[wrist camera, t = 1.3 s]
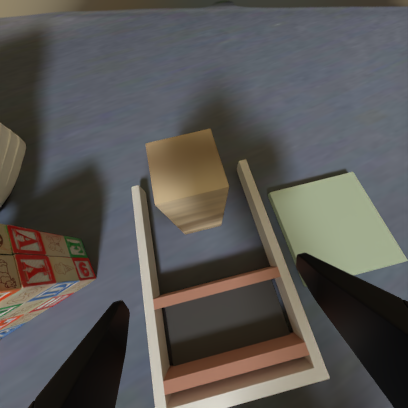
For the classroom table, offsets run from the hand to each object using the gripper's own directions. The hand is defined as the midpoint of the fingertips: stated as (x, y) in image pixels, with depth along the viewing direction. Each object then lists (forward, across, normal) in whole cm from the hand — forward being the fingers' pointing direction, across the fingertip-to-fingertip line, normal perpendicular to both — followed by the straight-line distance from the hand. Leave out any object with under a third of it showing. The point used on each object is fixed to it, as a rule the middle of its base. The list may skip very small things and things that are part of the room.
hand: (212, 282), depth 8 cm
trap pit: (+6, 0, +13) cm, 14 cm away
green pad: (+11, -16, +8) cm, 21 cm away
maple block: (+15, 0, +4) cm, 15 cm away
